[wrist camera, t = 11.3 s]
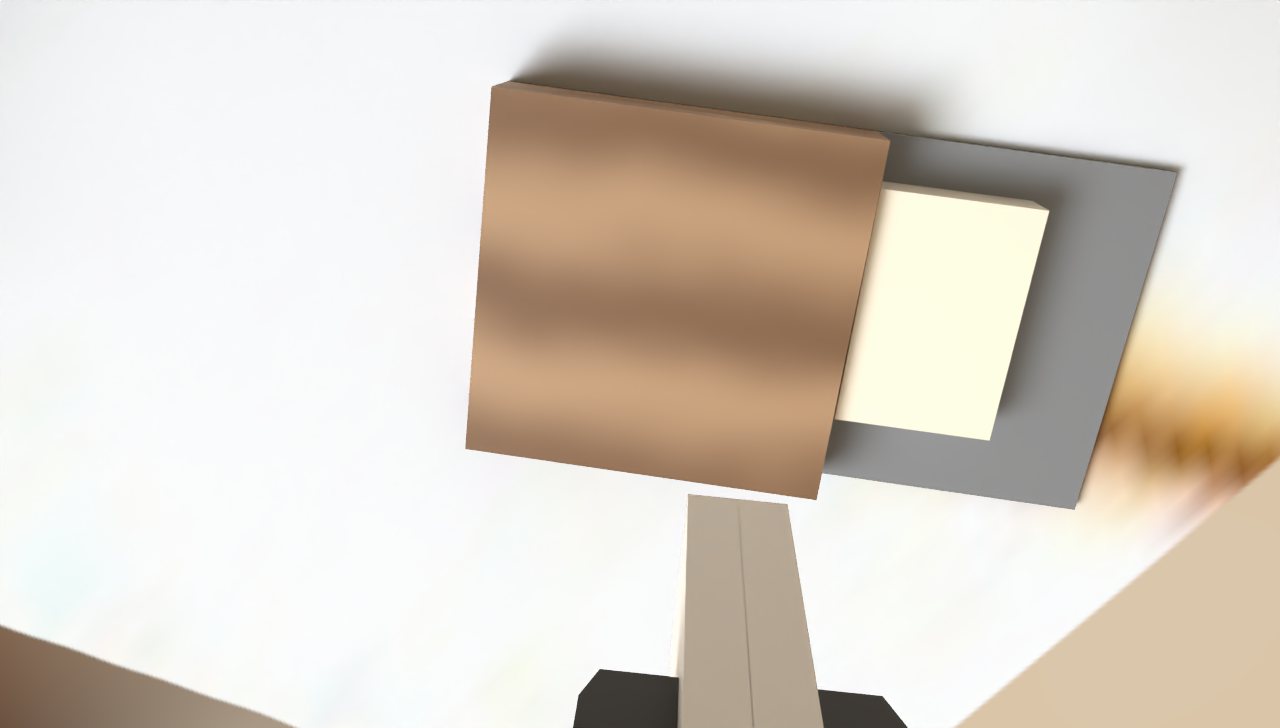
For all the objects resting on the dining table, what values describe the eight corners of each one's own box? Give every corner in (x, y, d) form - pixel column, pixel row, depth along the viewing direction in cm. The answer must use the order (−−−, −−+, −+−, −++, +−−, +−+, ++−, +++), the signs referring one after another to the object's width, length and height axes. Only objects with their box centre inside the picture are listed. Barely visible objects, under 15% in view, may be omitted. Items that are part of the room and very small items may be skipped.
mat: (877, 131, 38) (879, 132, 37) (1172, 171, 37) (1177, 172, 37) (809, 467, 42) (810, 471, 42) (1071, 505, 42) (1074, 509, 42)
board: (508, 80, 38) (491, 86, 35) (877, 131, 38) (890, 140, 35) (481, 419, 43) (465, 448, 40) (809, 467, 42) (816, 499, 40)
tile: (872, 179, 38) (881, 188, 36) (1032, 200, 38) (1049, 210, 36) (829, 400, 41) (834, 418, 39) (976, 420, 41) (989, 440, 39)
